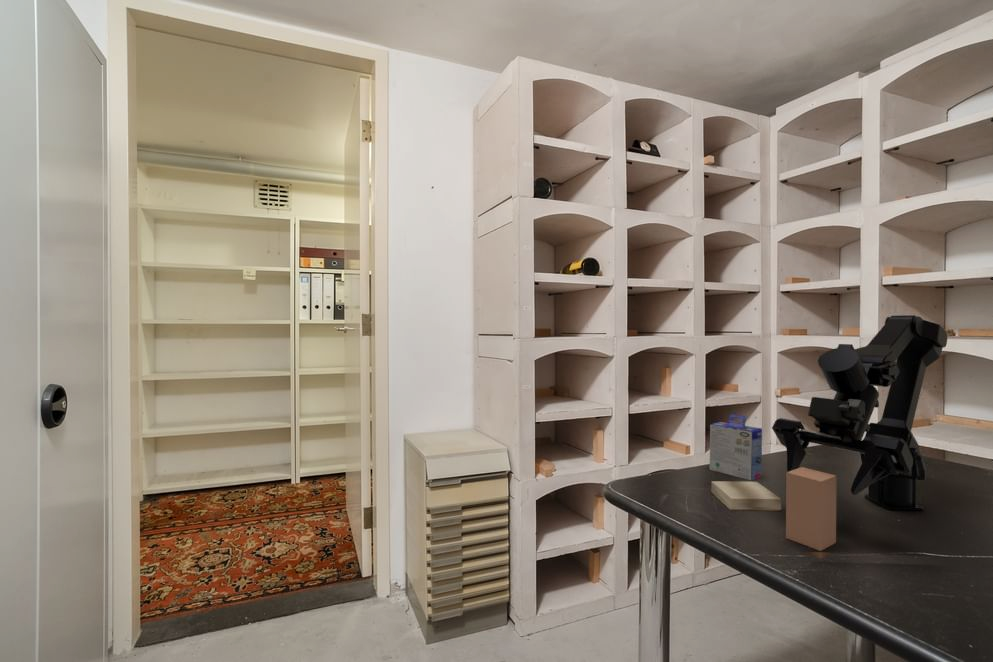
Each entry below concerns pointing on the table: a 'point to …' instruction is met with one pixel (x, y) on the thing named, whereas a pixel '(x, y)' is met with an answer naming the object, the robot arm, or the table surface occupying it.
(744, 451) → the ink cartridge box
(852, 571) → the table surface
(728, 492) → the top slab
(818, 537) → the column
